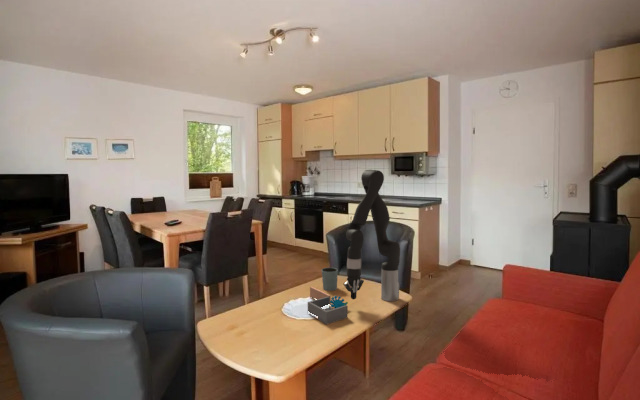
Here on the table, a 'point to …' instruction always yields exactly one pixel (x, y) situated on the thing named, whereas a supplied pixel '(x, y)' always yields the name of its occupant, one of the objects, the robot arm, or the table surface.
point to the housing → (325, 315)
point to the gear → (337, 302)
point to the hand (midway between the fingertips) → (353, 298)
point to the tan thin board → (318, 294)
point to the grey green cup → (329, 278)
